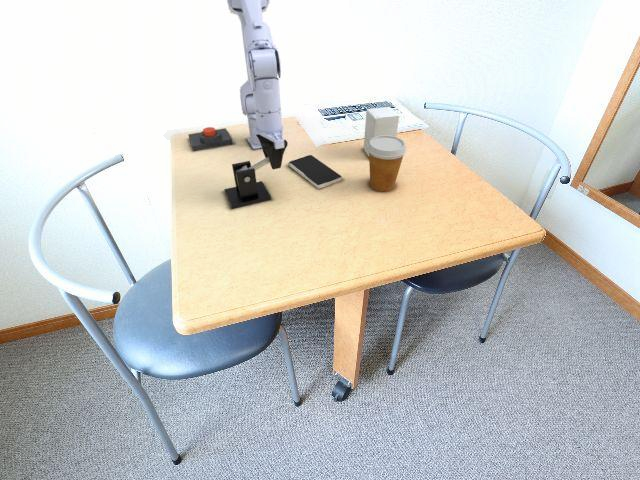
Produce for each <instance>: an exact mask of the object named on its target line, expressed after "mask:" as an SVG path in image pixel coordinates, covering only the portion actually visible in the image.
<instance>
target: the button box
mask: <svg viewBox="0 0 640 480" xmlns="http://www.w3.org/2000/svg"><path fill="white" fill-rule="evenodd" d="M215 132H216V135H214V136H211V137H205V136H204V133H203V130H201V132H195V133H188V134H187V135H188V139H189V142H190V144H191V145H190V146H191V147H192V151H193V152H197V151H201V150H207V149H213V148H218V147H225V146H230V145H233V139H232V137H231V135H230V133H229V131H228V130H227V128H226V127H224V128H217V129H215Z"/></svg>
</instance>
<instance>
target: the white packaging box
mask: <svg viewBox="0 0 640 480" xmlns="http://www.w3.org/2000/svg"><path fill="white" fill-rule="evenodd" d="M399 120H400V115H399V114H398V113H397V112H396V111H395V110H394V109H393V108H392V107H391V106H385V107H384V106H383V107H382V106H381V107H373V108H366V111H365V125H364V138H363V151H364V152H365V153H366V155H367V157H369V151H368V149H367V146H368V144H369V142H370V140H371V139H372V138H374V137H376V136H382V135H388V136H395V137H398V135H397V134H398V128H399V127H398V126H399Z"/></svg>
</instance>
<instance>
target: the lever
mask: <svg viewBox="0 0 640 480" xmlns="http://www.w3.org/2000/svg"><path fill="white" fill-rule="evenodd" d="M269 164H270V161H269V157H267V158H265V157H264V158H263V159H261V160H260V161H258V162H256V163H253V165H251V167H249V168H247V166H246V165H245V166H243V167H242V168H240V169H238V170H236V172H238V171H243V170H248V169H253V168H254V170H255V172H256V171H258V170H259V169H261V168H263V167H265V166H266V165H269Z"/></svg>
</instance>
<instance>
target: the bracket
mask: <svg viewBox="0 0 640 480" xmlns="http://www.w3.org/2000/svg"><path fill="white" fill-rule="evenodd" d="M245 165H246V166H247V168H249V167H251V166H252V163H251V161H250V160H246V161H241V162H236V163H232V164H231V168H232V173H233V179H234V184H235V186H233V187H228V188H223V189H224V194H225V196H226V198H227V201H228V204H229V206H230V208H231V210H233V209H237V208H241V207H245V206H246V207H247V206H250V205H254V204H255V205H256V204H259V203H263V202H267V201H268V202H269V201H271V200H272V196H271V194H270V192H269V191H268V189H267V188H266V187H267V186H266V185H265V184H264V182H263V181H262V180H260V181H257V175H256V171H255V170H254V168H253V169H248V170H243V171H238V172H236V170H238V169H240V168H242V167H243V166H245Z"/></svg>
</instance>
